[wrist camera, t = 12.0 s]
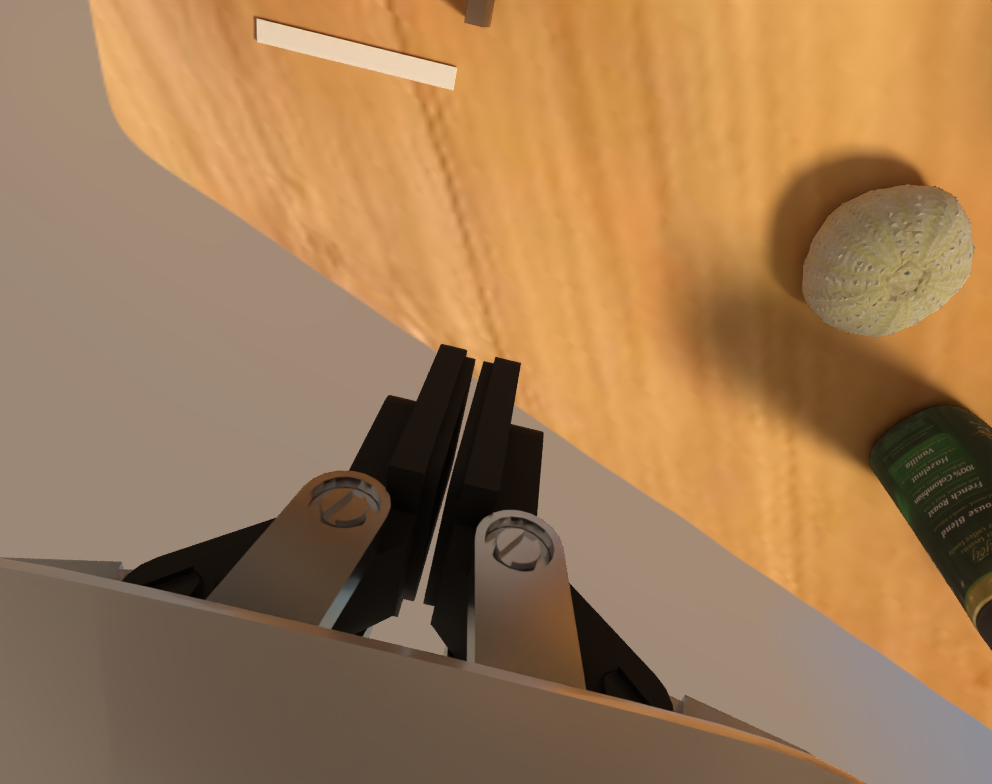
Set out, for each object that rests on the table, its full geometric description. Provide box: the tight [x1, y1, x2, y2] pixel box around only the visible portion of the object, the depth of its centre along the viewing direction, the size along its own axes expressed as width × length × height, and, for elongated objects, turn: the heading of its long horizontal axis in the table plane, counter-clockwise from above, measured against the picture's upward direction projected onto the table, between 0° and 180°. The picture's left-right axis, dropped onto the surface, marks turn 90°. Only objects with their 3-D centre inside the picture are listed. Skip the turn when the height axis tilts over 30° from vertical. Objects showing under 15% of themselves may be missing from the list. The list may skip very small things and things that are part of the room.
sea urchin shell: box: [802, 184, 975, 337], centre depth 36 cm, size 9×8×8 cm
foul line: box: [257, 19, 457, 90], centre depth 35 cm, size 1×12×1 cm, turn 79°
